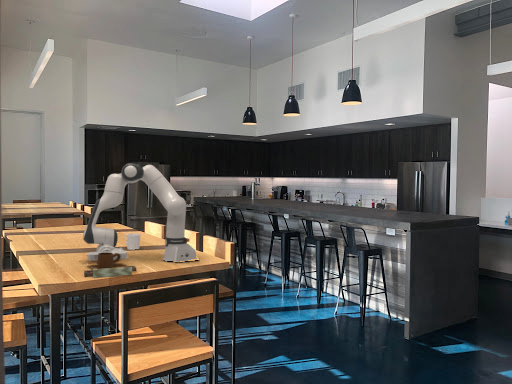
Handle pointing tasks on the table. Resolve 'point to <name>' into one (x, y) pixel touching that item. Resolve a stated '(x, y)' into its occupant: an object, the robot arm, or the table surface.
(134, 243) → the mug
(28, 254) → the table surface
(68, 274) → the table surface
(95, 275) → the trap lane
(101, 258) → the mug
